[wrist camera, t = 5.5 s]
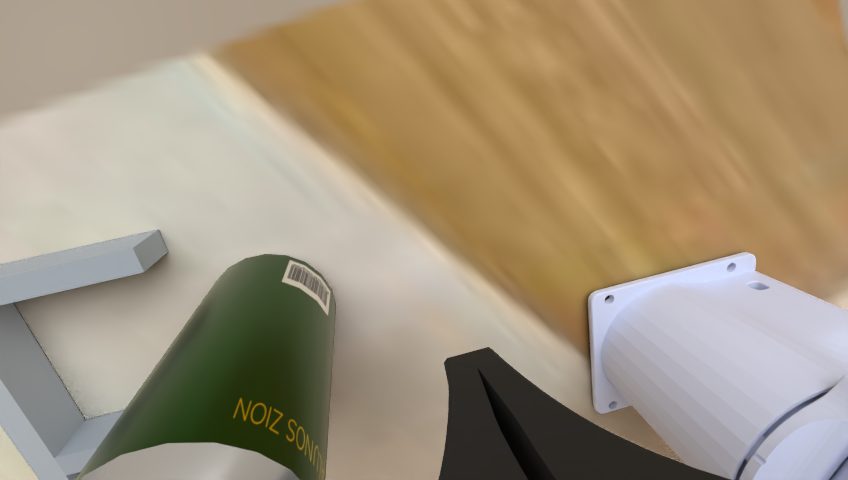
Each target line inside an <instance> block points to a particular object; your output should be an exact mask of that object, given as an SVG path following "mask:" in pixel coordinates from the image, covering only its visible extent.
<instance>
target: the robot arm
mask: <svg viewBox="0 0 848 480" xmlns="http://www.w3.org/2000/svg"><path fill="white" fill-rule="evenodd" d="M728 265H729V266H728ZM755 265H756V257H755V256H754V255H753V254H750V253H748V252H743V253H739V254H735V255H731V256H727V257H723V258H720V259H716V260H712V261H708V262H704V263H700V264H696V265H693V266H689V267H685V268H681V269H677V270H673V271H669V272H666V273H662V274H658V275H654V276H650V277H646V278H643V279H639V280H635V281H631V282H627V283H623V284H619V285H616V286H612V287H608V288H604V289H600V290H596V291H594V292H592V293H591V294H590V296H589V298H588V313H589V333H590V352H591V371H592V390H593V406H594V408H595V410H596V411H597V412H598V413H600V414H605V413H608V412H612V411H615V410H619V409H622V408H626V407H629V406H632V407H633V408H634V409H635V410H636V411H637V412H638V413H639V414H640V415H641V417H642V418H643V419H644V420H645V421H646V422H647V423H648V424H649V425H650V426H651V428H652V429H653V430H654V431H655V432H656V433H657V434H658V435H659V436H660V437H661V439H662V440H663V441H664V442H665V443H666V444H667V445H668V446H669V447H670V448H671V450H672V451H673V452H674V453H675V454H676V455H677V456H678V457H679V458H680V459H681V461H682V462H683V463H684V464H683V463H680V462H677V461H675V460H672V459H670V458H667V457H664V456H662V455H659V454H657V453H654V452H652V451H650V450H647V449H645V448H643V447H641V446H638V445H636V444H634V443H632V442H630V441H628V440H625V439H623V438H621V437H619V436H617V435H614V434H613V433H611V432H609V431H607V430H605V429H603V428H601V427H599V426H597V425H595V424H594V423H592V422H590V421H588V420H587V419H585V418H583V417H581V416H580V415H578V414H576V413H575V412H573V411H572V410H570V409H568V408H567V407H565V406H564V405H562V404H561V403H559V402H558V401H556V400H555V399H553V398H552V397H550V396H549V395H548V394H546V393H545V392H543V391H542V390H541V389H539V388H538V387H537V386H535V385H534V384H533V383H531V382H530V381H529V380H527V379H526V378H525V377H524V376H522V375H521V374H520V373H519V372H517V371H516V370H515V369H514V368H513V367H511V366H510V365H509V364H508V363H507V362H505V361H504V360H503V359H502V358H501V357H500V356H499V355H498V354H496V353H495V352H494V351H493V350H492V349H490V348H489V347H487V348H484V349H480V350H476V351H472V352H469V353H465V354H461V355H458V356H454V357H450V358H447V359H446V361H445V362H444V365H445V370H446V375H447V380H448V385H449V412H448V424H447V434H446V443H445V450H444V456H443V461H442V467H441V472H440V476H439V480H848V311H847V310H844V309H842V308H840V307H837V306H835V305H833V304H830V303H828V302H826V301H824V300H821V299H819V298H817V297H814V296H812V295H810V294H807V293H805V292H803V291H800V290H798V289H796V288H794V287H791V286H789V285H787V284H784V283H782V282H780V281H777V280H775V279H773V278H770V277H768V276H766V275H764V274H761V273H759V272H757V271H755ZM727 267H728V268H727ZM609 295H610V296H609ZM607 296H609V298H608V299H607V300H605V298H606V297H607Z"/></svg>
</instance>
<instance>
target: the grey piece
mask: <svg viewBox="0 0 848 480" xmlns="http://www.w3.org/2000/svg"><path fill="white" fill-rule="evenodd" d="M167 252H168V250H167V248H166V246H165V243H164V241H163V239H162V237H161V234H160V232H159V230H155V231H150V232H146V233H141V234H137V235H132V236H128V237H123V238H119V239H114V240H110V241H105V242H101V243H96V244H92V245H87V246H83V247H78V248H74V249H69V250H65V251H60V252H56V253H51V254H46V255H42V256H37V257H33V258H28V259H24V260H19V261H15V262H10V263H6V264H1V265H0V425H1V427H2V428H3V430H4V431H5V432H6V434H7V435H8V437H9V438H10V439H11V441H12V442H13V444H14V445H15V446H16V448H17V449H18V451H19V452H20V453H21V455H22V456H23V458H24V459H25V460H26V462H27V463H28V465H29V466H30V467H31V469H32V470H33V472H34V473H35V474H36V476H37V477H38V479H39V480H75V479H76V478H77V476H78V475H79V474H80V472H81V471H82V469H83V468H84V467H85V465H86V464H87V462H88V461H89V459H90V458H91V457H92V455H93V454H94V452H95V451H96V450H97V448H98V447H99V445H100V444H101V443H102V441H103V440H104V438H105V437H106V436H107V434H108V433H109V431H110V430H111V429H112V427H113V426H114V424H115V423H116V422H117V420H118V419H119V417H120V416H121V415H122V413H123V412H124V410H123V411H119V412H115V413H111V414H107V415H104V416H100V417H96V418H92V419H88V420H85V419H84V417H83V416H82V414H81V412H80V411H79V409H78V407H77V406H76V404H75V403H74V401H73V399H72V398H71V396H70V394H69V393H68V391H67V390H66V388H65V386H64V385H63V383H62V381H61V380H60V378H59V377H58V375H57V373H56V372H55V370H54V368H53V367H52V365H51V364H50V362H49V360H48V359H47V357H46V355H45V354H44V352H43V351H42V349H41V347H40V346H39V344H38V343H37V341H36V339H35V338H34V336H33V334H32V333H31V331H30V330H29V328H28V326H27V325H26V323H25V321H24V320H23V318H22V317H21V315H20V313H19V312H18V310H17V308H16V307H15V305H14V304H13V302H18V301H22V300H26V299H31V298H35V297H39V296H44V295H48V294H52V293H57V292H61V291H65V290H70V289H74V288H78V287H83V286H87V285H91V284H96V283H100V282H104V281H109V280H113V279H117V278H122V277H126V276H130V275H135V274H139V273H143V272H145V271H146V270H148V269H149V268H150V267H151V266H152V265H153V264H154V263H156V262H157V261H158V260H159V259H160V258H161V257H163V256H164V255H165V254H166V253H167Z"/></svg>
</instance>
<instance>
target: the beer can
mask: <svg viewBox="0 0 848 480" xmlns="http://www.w3.org/2000/svg"><path fill="white" fill-rule="evenodd" d="M335 314H336V303H335V300H334V296H333V292H332V289H331V287H330V286H329V285H328V283H327V282H326V280H325V279H324V277H323V276H322V275H321V274H320V273H319V272H318V271H316V270H315V269H314V268H312V267H311V266H310V265H308V264H307V263H306V262H303V261H300V260H297V259H295V258H292V257H289V256H285V255H272V254H264V255H259V256H255V257H250V258H246V259H244V260H242V261H240V262H238V263H237V264H235V265H233V266H231V267H229V268H228V269H227V270H226V271H225V272H224V273H223V275H222V276H221V277H220V278H219V279H218V280H217V281H216V282H215V284H214V285H213V287H212V288H211V289H210V291H209V292H208V294H207V295H206V297H205V298H204V299H203V301H202V302H201V304H200V305H199V306H198V308H197V309H196V311H195V312H194V313H193V315H192V316H191V318H190V319H189V320H188V322H187V323H186V325H185V326H184V327H183V329H182V330H181V332H180V333H179V334H178V336H177V337H176V339H175V340H174V341H173V343H172V344H171V346H170V347H169V348H168V350H167V351H166V353H165V354H164V356H163V357H162V358H161V360H160V361H159V363H158V364H157V365H156V367H155V368H154V370H153V371H152V372H151V374H150V375H149V377H148V378H147V379H146V381H145V382H144V384H143V385H142V386H141V388H140V389H139V391H138V392H137V393H136V395H135V396H134V398H133V399H132V400H131V402H130V403H129V405H128V406H127V407H126V409H125V410H124V412H123V413H122V415H121V416H120V417H119V419H118V420H117V422H116V423H115V424H114V426H113V427H112V429H111V430H110V431H109V433H108V434H107V436H106V437H105V438H104V440H103V441H102V443H101V444H100V445H99V447H98V448H97V450H96V451H95V452H94V454H93V455H92V457H91V458H90V459H89V461H88V462H87V464H86V465H85V467H84V468H83V469H82V471H81V472H80V474H79V475H78V476H77V478H76V479H75V480H325V476H326V459H327V443H328V427H329V411H330V395H331V379H332V362H333V346H334V330H335Z"/></svg>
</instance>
